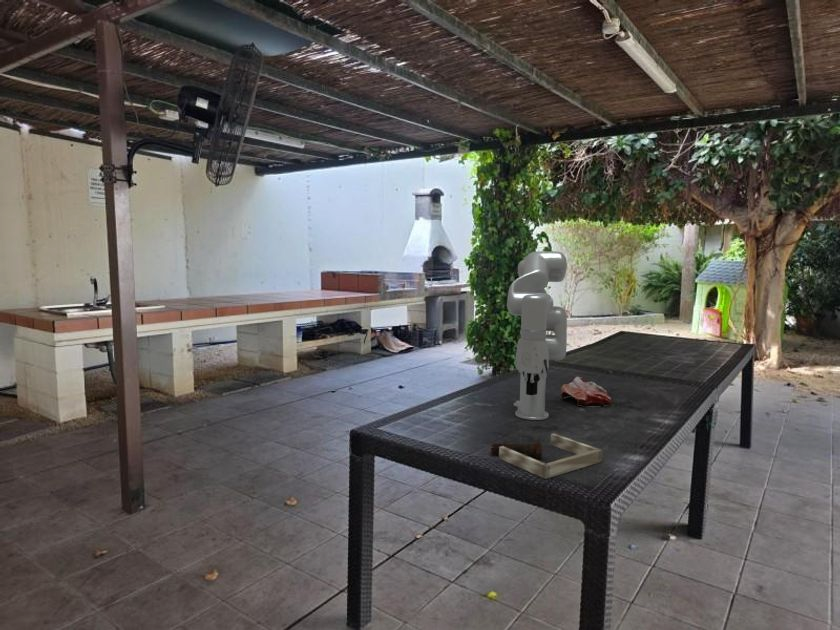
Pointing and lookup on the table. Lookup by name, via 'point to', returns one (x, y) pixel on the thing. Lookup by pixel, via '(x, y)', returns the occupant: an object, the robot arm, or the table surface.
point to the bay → (582, 459)
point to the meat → (586, 393)
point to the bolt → (520, 448)
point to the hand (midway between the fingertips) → (531, 394)
